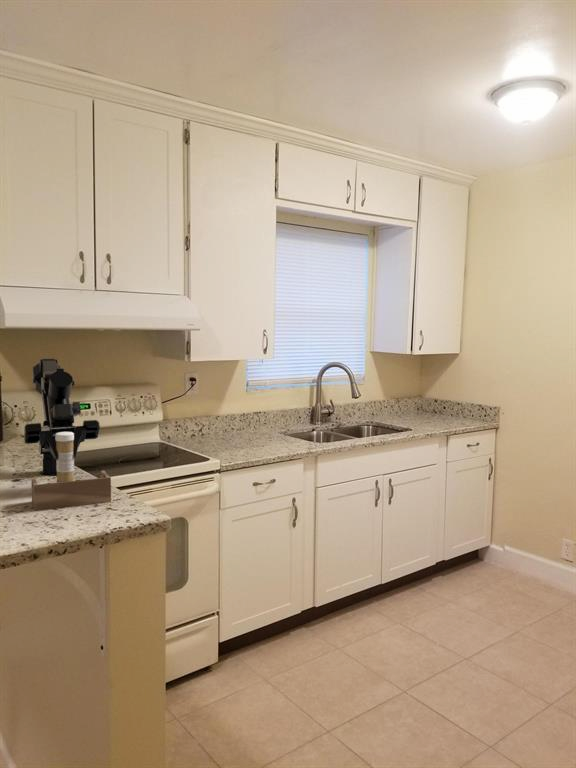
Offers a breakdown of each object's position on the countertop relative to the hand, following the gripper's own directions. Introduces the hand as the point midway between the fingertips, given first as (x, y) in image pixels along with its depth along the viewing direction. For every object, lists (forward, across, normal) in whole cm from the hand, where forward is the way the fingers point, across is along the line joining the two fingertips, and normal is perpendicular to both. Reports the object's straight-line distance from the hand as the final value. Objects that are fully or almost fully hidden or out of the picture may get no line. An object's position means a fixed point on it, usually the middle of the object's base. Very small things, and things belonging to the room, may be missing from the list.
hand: (65, 457), depth 156 cm
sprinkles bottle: (+4, 0, +6) cm, 7 cm away
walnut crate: (+13, 0, 0) cm, 13 cm away
